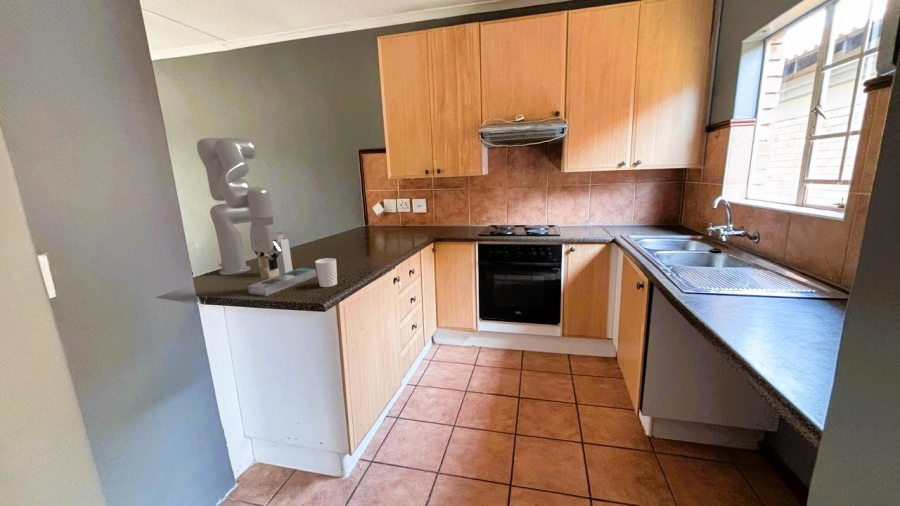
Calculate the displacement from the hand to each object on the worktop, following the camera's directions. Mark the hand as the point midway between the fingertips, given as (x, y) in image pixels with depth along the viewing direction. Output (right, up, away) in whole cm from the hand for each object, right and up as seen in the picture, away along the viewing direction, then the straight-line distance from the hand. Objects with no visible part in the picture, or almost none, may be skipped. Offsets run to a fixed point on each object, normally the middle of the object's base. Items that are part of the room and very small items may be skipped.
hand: (269, 267), depth 141 cm
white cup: (+22, -7, +4) cm, 23 cm away
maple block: (0, -3, +1) cm, 3 cm away
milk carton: (-6, -4, +23) cm, 24 cm away
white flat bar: (+3, -7, +7) cm, 10 cm away
